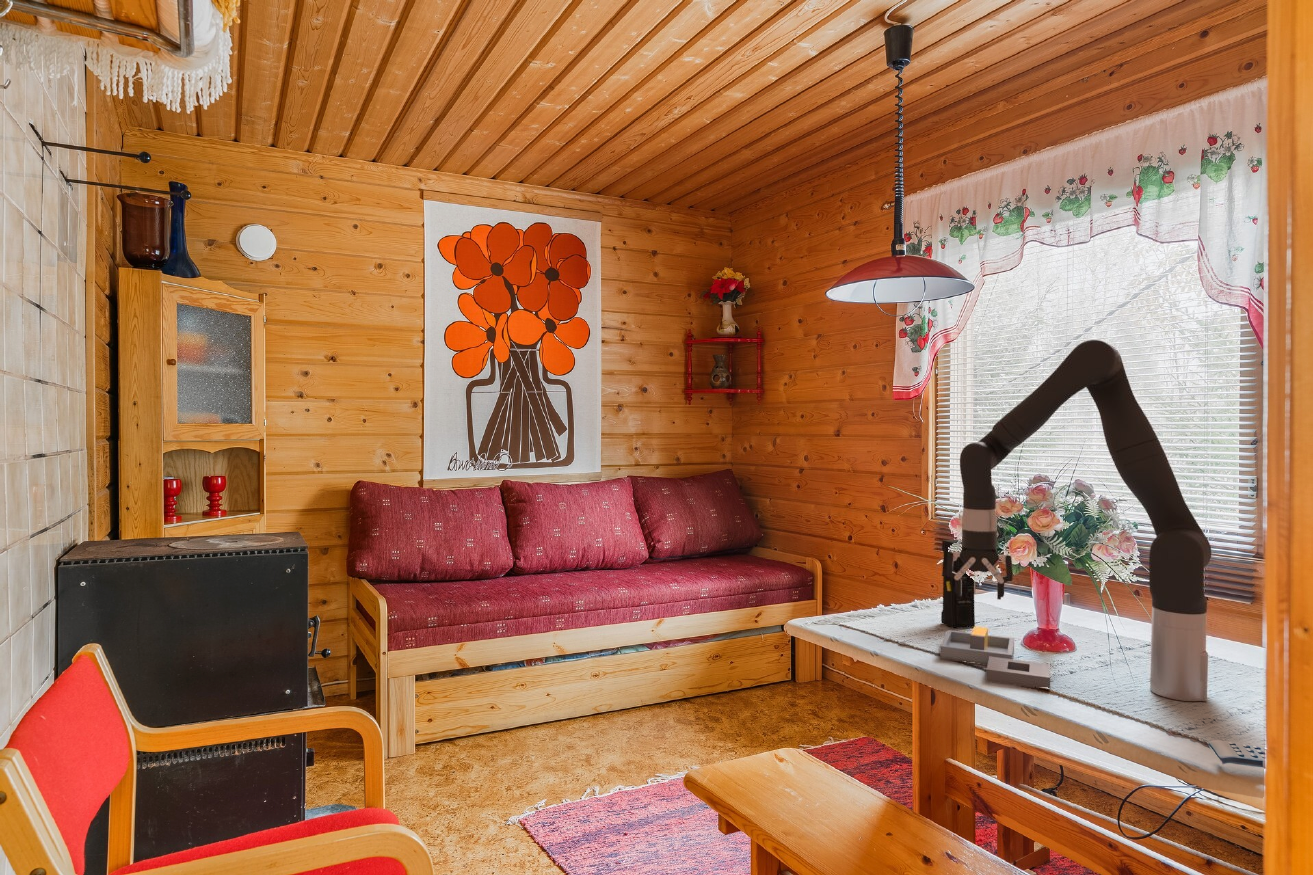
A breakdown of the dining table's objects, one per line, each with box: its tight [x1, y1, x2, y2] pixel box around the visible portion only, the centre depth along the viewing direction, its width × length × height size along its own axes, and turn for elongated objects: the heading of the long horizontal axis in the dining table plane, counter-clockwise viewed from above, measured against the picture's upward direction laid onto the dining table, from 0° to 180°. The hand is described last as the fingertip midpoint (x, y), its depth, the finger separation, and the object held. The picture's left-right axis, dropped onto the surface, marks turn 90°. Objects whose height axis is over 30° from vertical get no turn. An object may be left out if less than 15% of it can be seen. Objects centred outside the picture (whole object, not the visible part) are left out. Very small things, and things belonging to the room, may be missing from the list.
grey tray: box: [939, 630, 1015, 666], centre depth 186 cm, size 15×15×3 cm
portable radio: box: [940, 539, 976, 629], centre depth 211 cm, size 8×6×25 cm
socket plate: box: [986, 656, 1051, 689], centre depth 169 cm, size 12×10×2 cm
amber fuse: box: [970, 625, 989, 651], centre depth 186 cm, size 3×4×9 cm
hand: (979, 597), depth 185 cm, fingers open, 8 cm apart
